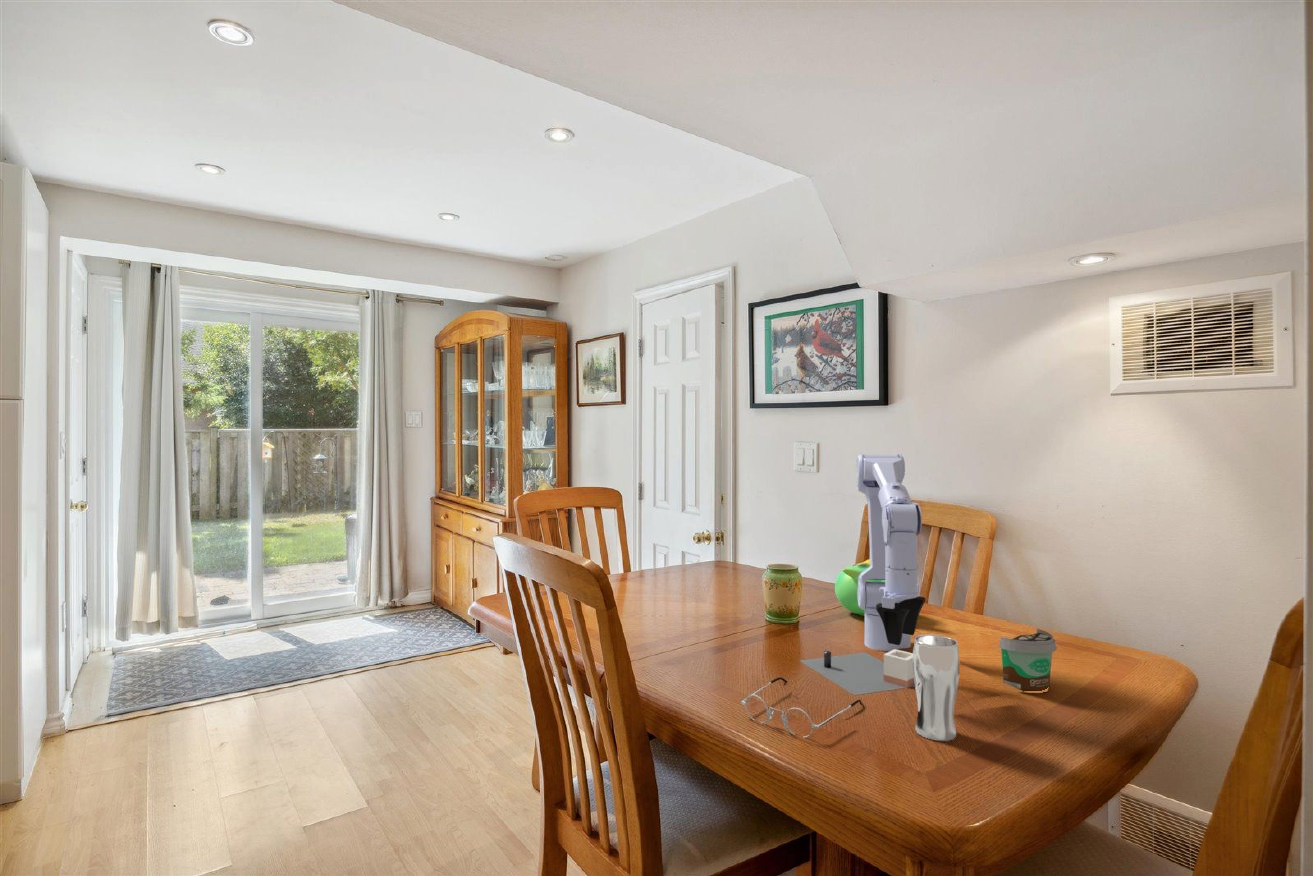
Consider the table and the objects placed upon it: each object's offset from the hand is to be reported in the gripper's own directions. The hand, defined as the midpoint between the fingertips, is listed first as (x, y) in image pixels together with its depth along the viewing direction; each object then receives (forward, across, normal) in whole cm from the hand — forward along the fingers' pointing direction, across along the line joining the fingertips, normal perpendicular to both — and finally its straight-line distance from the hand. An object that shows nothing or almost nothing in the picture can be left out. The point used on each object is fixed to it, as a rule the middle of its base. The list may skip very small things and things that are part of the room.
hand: (901, 638), depth 123 cm
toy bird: (+10, -46, -24) cm, 53 cm away
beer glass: (+10, +15, +11) cm, 21 cm away
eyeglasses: (+10, +22, -10) cm, 26 cm away
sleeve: (+8, 0, 0) cm, 8 cm away
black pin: (+8, +2, -14) cm, 16 cm away
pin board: (+10, 0, -8) cm, 12 cm away
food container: (+10, -16, +20) cm, 27 cm away
